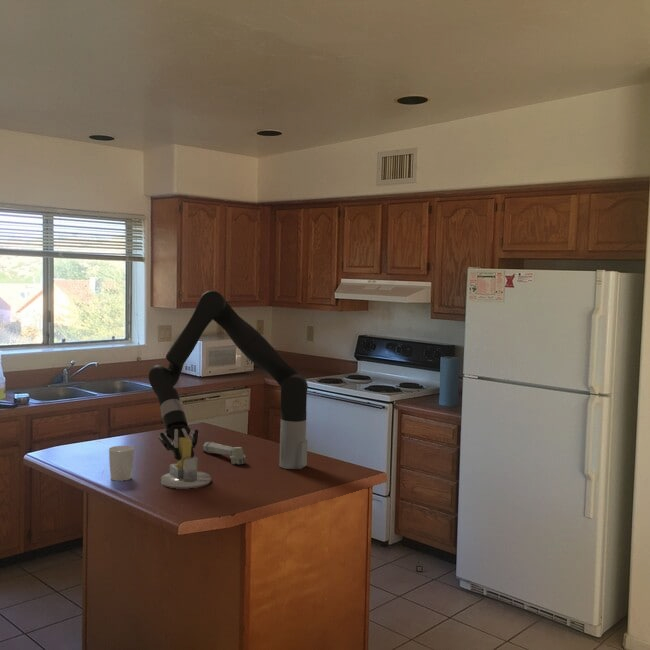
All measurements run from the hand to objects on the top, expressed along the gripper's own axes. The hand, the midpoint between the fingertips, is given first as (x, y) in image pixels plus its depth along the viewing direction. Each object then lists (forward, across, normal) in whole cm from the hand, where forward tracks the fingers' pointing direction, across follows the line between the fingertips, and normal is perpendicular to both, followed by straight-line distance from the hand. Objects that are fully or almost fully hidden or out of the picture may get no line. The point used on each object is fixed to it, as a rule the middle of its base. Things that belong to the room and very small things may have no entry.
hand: (185, 458), depth 228 cm
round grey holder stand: (+6, 0, +5) cm, 8 cm away
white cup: (-3, -18, +14) cm, 23 cm away
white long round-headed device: (-10, +24, +22) cm, 34 cm away
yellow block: (+3, 0, +6) cm, 6 cm away
